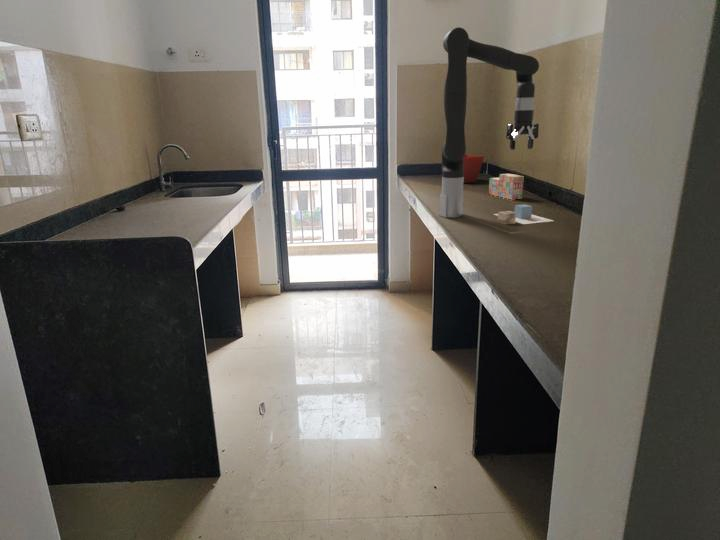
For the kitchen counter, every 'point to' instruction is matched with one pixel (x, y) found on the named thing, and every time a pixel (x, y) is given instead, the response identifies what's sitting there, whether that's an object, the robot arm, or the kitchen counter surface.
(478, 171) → the plant pot
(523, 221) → the letter mat
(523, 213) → the blue-grey cube
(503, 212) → the beech block
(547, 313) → the kitchen counter surface
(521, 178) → the stack of blocks
